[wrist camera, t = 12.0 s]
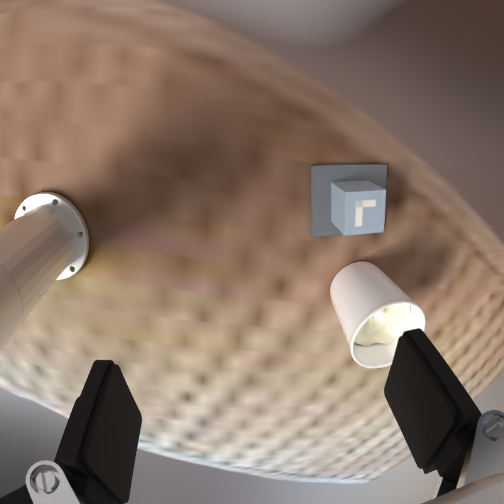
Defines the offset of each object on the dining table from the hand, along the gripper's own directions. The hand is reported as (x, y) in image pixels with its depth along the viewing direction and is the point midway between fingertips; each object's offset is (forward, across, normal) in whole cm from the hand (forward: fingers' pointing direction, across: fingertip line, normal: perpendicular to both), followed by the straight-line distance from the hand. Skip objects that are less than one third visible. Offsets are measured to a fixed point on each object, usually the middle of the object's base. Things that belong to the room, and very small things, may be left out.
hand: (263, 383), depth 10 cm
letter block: (+30, -14, +3) cm, 33 cm away
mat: (+30, -14, +3) cm, 34 cm away
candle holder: (+31, -16, +16) cm, 38 cm away
